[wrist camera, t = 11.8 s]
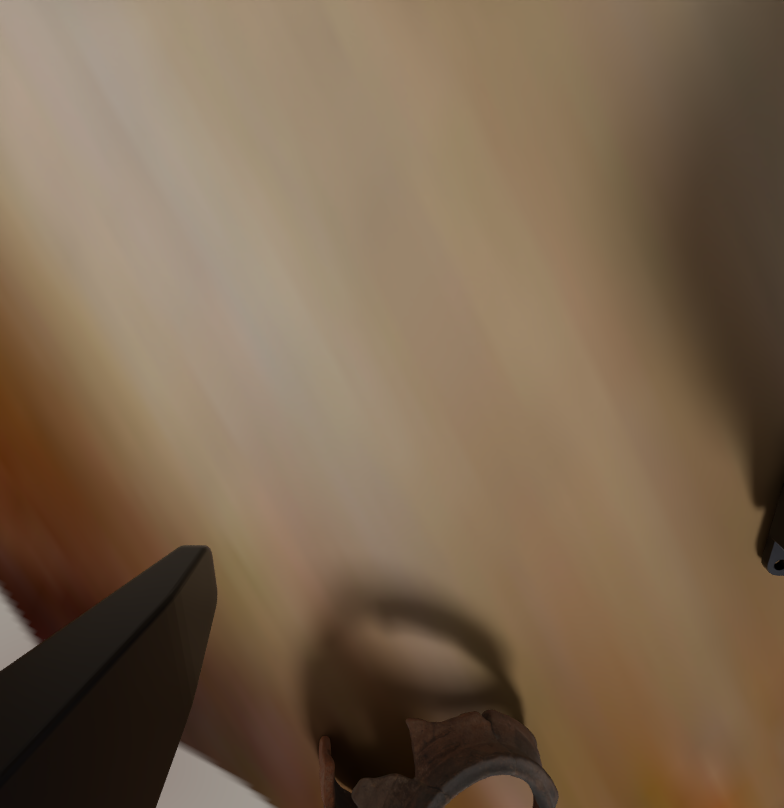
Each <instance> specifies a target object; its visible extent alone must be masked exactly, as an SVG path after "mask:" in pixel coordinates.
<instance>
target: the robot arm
mask: <svg viewBox="0 0 784 808" xmlns="http://www.w3.org/2000/svg"><path fill="white" fill-rule="evenodd" d="M778 560H780V561H779V562H777V561H778ZM776 562H777V563H776ZM761 563H762V565H763V566H764V567H765V568H766V569H767V571H768V572H769V573H771V574H772V575H777V576H784V485H783V488H782V491H781V495H780V498H779V501H778V505H777V508H776V511H775V515H774V518H773V521H772V525H771V528H770V531H769V536H768V539H767V542H766V546H765V549H764V552H763V556H762V562H761ZM216 604H217V585H216V578H215V571H214V564H213V557H212V552H211V550H210V548H209V547H208V546H205V545H184V546H180V547H178V548H177V549H175V550H174V551H172V552H171V553H170V554H168V555H167V556H165V557H164V558H162V559H161V560H160V561H158V562H157V563H155V564H154V565H152V566H151V567H149V568H148V569H147V570H145V571H144V572H142V573H141V574H139V575H138V576H137V577H135V578H134V579H132V580H131V581H129V582H128V583H126V584H125V585H124V586H122V587H121V588H119V589H118V590H116V591H115V592H114V593H112V594H111V595H109V596H108V597H106V598H105V599H103V600H102V601H101V602H99V603H98V604H96V605H95V606H93V607H92V608H91V609H89V610H88V611H86V612H85V613H83V614H82V615H80V616H79V617H78V618H76V619H75V620H73V621H72V622H70V623H69V624H68V625H66V626H65V627H63V628H62V629H60V630H59V631H57V632H56V633H55V634H53V635H52V636H50V637H49V638H47V639H46V640H45V641H43V642H42V643H40V644H39V645H37V646H36V647H34V648H33V649H32V650H30V651H29V652H27V653H26V654H24V655H23V656H22V657H20V658H19V659H17V660H16V661H14V662H13V663H11V664H10V665H9V666H7V667H6V668H4V669H3V670H1V671H0V808H156V806H157V803H158V800H159V797H160V794H161V792H162V789H163V786H164V783H165V780H166V778H167V775H168V772H169V769H170V767H171V764H172V761H173V758H174V756H175V753H176V750H177V747H178V744H179V742H180V739H181V736H182V733H183V730H184V728H185V725H186V722H187V719H188V716H189V713H190V710H191V707H192V704H193V700H194V696H195V692H196V689H197V685H198V680H199V676H200V672H201V668H202V664H203V659H204V655H205V651H206V647H207V643H208V639H209V634H210V630H211V626H212V622H213V618H214V613H215V609H216Z"/></svg>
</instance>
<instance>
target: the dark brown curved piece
mask: <svg viewBox="0 0 784 808" xmlns="http://www.w3.org/2000/svg"><path fill="white" fill-rule="evenodd" d="M406 724H407V726H408V728H409V730H410V736H411V741H412V750H413V756H414V765H415V777H414V778H413V779H411V778H408V777H405V776H403V775H401V774H397V773H392V774H388V775H384V776H381V777H377V778H369V777H366V778H362V779H361V780H359V782H358V783H357V784H356V786H355V787H354V788H353V790H352V793H350V792H349V791H347V790H345V789H343V788H342V787H341V786H340V785H339V784H338V783H337V782H336V780H335V778H334V774H335V763H334V760H333V758H332V757H331V744H330V739H329V737H328V736H322V737H321V739H320V741H319V763H320V773H319V775H320V782H321V796H322V800H323V802H324V808H445V806H446V804H448V803H449V802H450V801H451V799H453V798H454V797H455V796H456V795H457V794H459V793H460V792H462V791H463V790H464V789H466V788H467V787H469V786H471V785H472V784H474V783H476V782H478V781H479V780H482V779H485V778H487V777H490V776H495V775H511V776H514V777H517V778H520V779H522V780H524V781H525V782H527V783H528V784H529V786H530V788H531V790H532V792H533V808H555V807H556V804H557V801H558V798H559V796H558V791H557V789H556V786H555V785H554V783H553V781H552V779H551V777H550V776H549V775H548V774H547V773H546V771H545V770H544V769H543V768H542V764H541V760H540V755H539V751H538V749H537V742H536V739H535V737H534V735H533V734H532V733H531V732H530V731H529V729H528V728H526V727H525V726H524V725H523V724H521V723H520V722H519V721H517V720H516V719H514V718H512V717H510V716H508V715H505V714H502V713H500V712H498V711H496V710H486V711H485V712H484V713H483V714H482V715H481V714H480V713H478V712H476V711H473V712H468V713H464V714H461V715H459V716H457V717H454V718H451V719H449V720H446V721H443V722H427V721H425V720H422V719H415V718H407V719H406Z"/></svg>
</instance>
